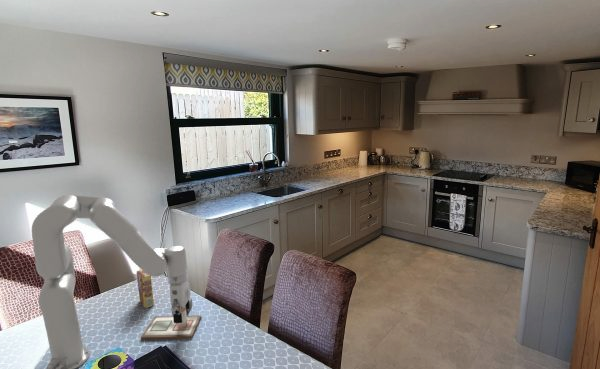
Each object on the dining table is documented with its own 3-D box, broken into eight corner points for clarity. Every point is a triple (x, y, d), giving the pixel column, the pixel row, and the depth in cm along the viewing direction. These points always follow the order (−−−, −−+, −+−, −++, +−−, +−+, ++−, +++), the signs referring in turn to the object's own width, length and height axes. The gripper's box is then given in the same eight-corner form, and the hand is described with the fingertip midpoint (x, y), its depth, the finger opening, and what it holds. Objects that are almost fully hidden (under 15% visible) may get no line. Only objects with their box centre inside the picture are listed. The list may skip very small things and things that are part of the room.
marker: (186, 327, 142) (183, 307, 140) (177, 327, 142) (175, 308, 140) (188, 322, 145) (186, 302, 143) (180, 322, 145) (177, 303, 143)
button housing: (188, 313, 154) (187, 305, 154) (174, 313, 154) (173, 306, 154) (192, 305, 160) (191, 298, 160) (178, 305, 160) (178, 298, 160)
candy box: (154, 305, 161) (151, 275, 158) (145, 308, 158) (141, 278, 155) (149, 297, 168) (145, 268, 165) (139, 300, 165) (135, 271, 162)
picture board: (191, 338, 137) (191, 335, 136) (140, 340, 137) (140, 336, 136) (201, 317, 150) (201, 314, 150) (155, 318, 150) (154, 316, 150)
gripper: (180, 287, 130) (184, 328, 134) (193, 267, 147) (197, 303, 151) (160, 288, 130) (165, 328, 134) (176, 267, 147) (180, 304, 151)
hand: (182, 315), depth 142 cm, fingers open, 9 cm apart
